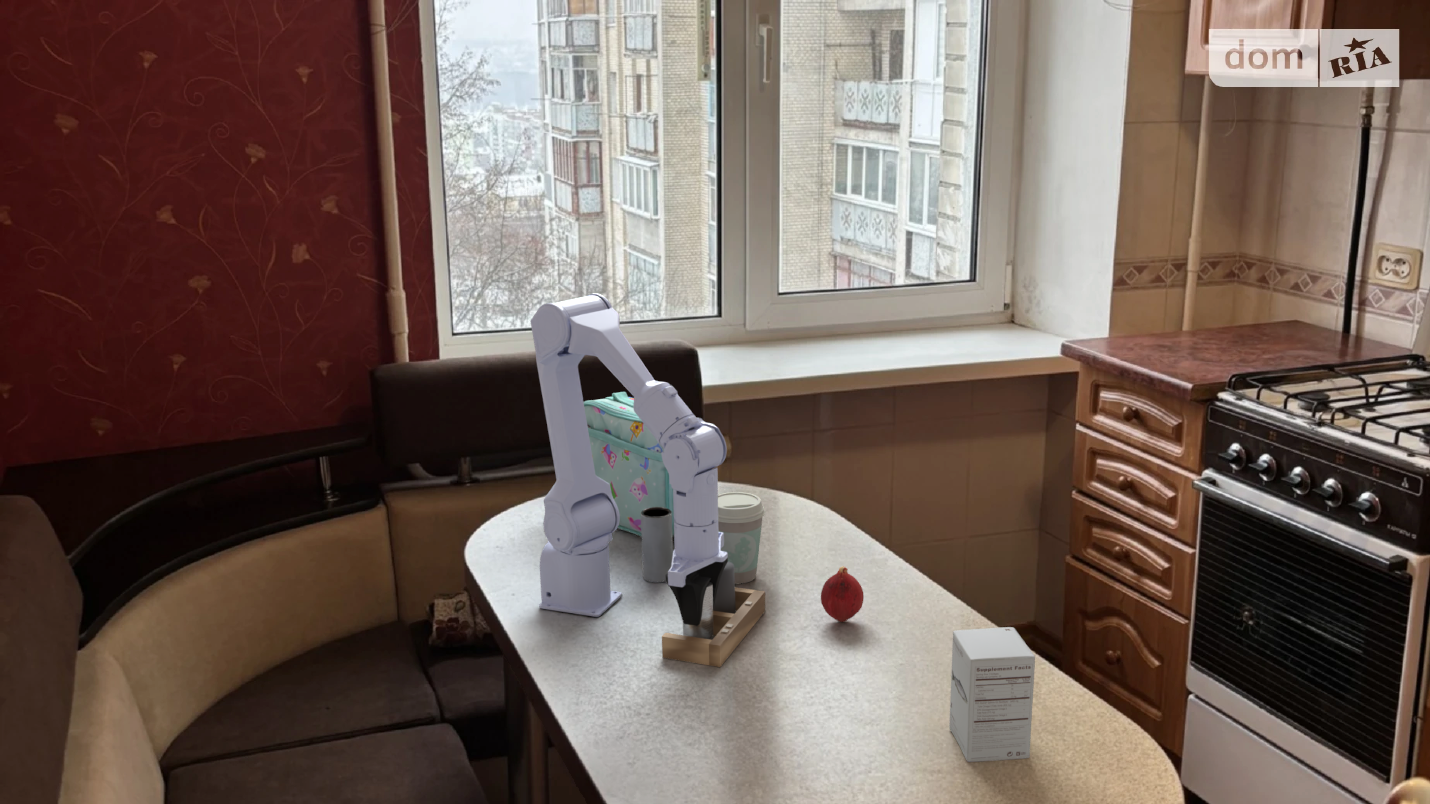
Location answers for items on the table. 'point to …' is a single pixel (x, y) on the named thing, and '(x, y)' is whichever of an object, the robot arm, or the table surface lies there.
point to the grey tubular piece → (656, 543)
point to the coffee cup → (741, 532)
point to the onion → (842, 596)
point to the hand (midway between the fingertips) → (698, 616)
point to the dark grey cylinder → (726, 591)
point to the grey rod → (703, 618)
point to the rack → (718, 632)
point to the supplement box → (991, 694)
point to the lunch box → (627, 459)
